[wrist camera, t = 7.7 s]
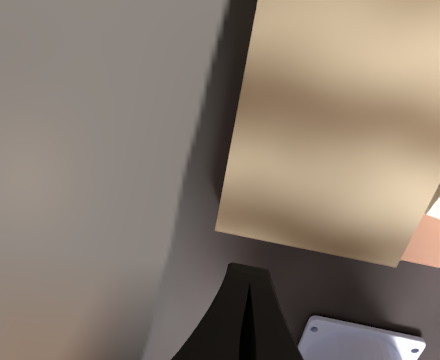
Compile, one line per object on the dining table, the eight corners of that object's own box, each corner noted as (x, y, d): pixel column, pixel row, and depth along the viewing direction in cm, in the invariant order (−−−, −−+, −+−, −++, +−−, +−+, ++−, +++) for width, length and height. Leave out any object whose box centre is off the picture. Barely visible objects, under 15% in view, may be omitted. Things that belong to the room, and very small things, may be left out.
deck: (383, 239, 22) (396, 267, 20) (220, 206, 22) (214, 230, 20) (508, -26, 15) (549, -28, 13) (271, -67, 15) (272, -76, 13)
